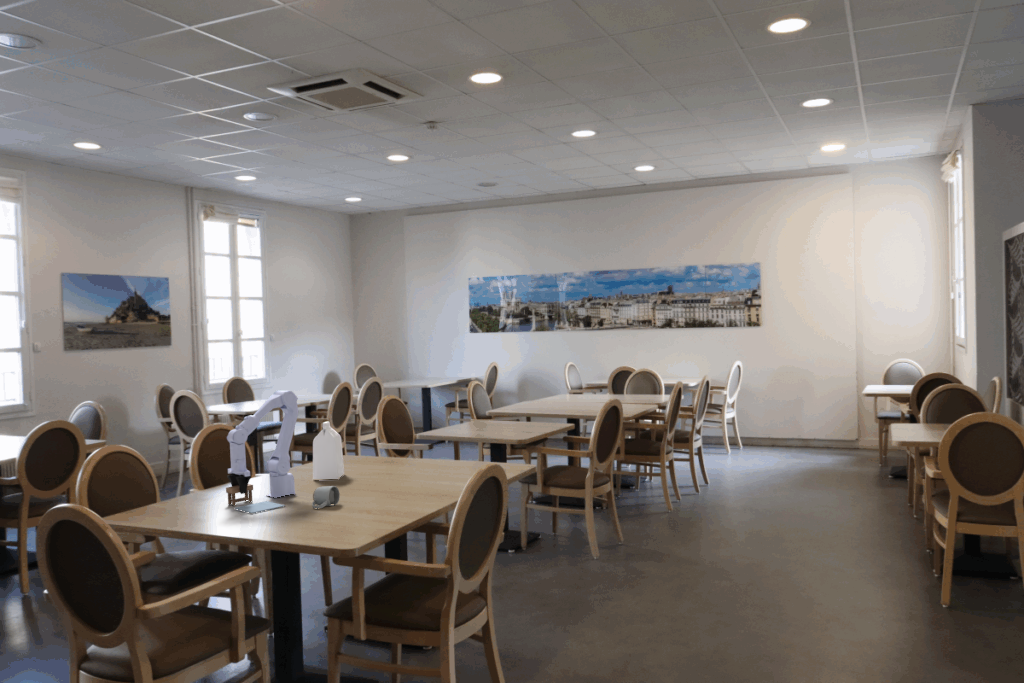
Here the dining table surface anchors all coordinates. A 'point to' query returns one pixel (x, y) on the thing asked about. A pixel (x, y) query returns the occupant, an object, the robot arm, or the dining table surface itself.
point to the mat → (259, 507)
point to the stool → (236, 489)
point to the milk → (327, 454)
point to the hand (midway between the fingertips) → (239, 492)
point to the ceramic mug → (325, 496)
